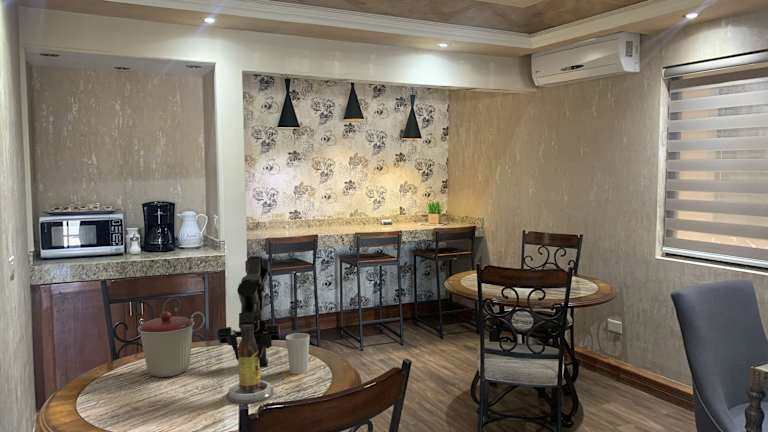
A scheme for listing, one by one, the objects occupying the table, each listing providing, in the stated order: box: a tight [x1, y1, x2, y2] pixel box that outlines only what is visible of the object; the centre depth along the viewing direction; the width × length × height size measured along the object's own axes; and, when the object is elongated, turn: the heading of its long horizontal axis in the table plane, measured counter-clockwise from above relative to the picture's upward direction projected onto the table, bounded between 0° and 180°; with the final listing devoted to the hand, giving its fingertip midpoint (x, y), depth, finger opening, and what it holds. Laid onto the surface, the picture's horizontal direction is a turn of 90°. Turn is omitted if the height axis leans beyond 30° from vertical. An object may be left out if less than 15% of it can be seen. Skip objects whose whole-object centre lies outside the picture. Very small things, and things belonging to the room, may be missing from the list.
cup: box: [285, 332, 310, 375], centre depth 202 cm, size 8×8×12 cm
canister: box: [137, 311, 195, 378], centre depth 203 cm, size 18×18×21 cm
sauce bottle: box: [237, 323, 261, 391], centre depth 181 cm, size 7×6×20 cm
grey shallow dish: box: [226, 379, 275, 405], centre depth 182 cm, size 14×14×2 cm
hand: (248, 359), depth 180 cm, fingers closed on sauce bottle, 6 cm apart
